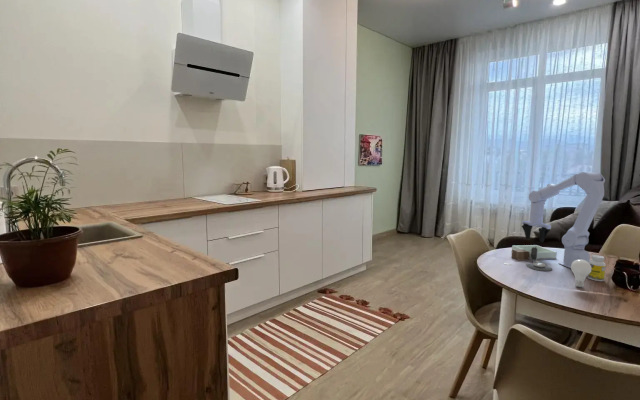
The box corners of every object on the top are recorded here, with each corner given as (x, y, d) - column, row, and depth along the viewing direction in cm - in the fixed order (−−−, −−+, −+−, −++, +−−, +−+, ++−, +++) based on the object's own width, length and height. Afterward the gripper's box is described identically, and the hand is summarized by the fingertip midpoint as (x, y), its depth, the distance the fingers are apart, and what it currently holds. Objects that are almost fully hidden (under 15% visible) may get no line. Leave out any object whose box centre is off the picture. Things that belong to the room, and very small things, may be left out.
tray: (556, 259, 172) (556, 252, 171) (530, 259, 170) (530, 252, 170) (535, 251, 185) (536, 245, 185) (511, 252, 184) (512, 245, 183)
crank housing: (548, 265, 160) (548, 264, 160) (555, 272, 151) (555, 271, 151) (501, 261, 166) (501, 260, 166) (505, 267, 157) (505, 266, 157)
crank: (547, 268, 154) (548, 254, 153) (534, 267, 155) (535, 253, 155) (538, 260, 167) (539, 247, 166) (527, 259, 168) (528, 246, 168)
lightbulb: (567, 287, 132) (570, 259, 131) (570, 283, 137) (572, 256, 136) (588, 291, 128) (591, 263, 127) (590, 287, 133) (593, 259, 132)
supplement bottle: (584, 277, 144) (586, 255, 142) (592, 276, 146) (594, 254, 145) (599, 282, 139) (601, 258, 138) (606, 280, 141) (609, 257, 140)
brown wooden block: (529, 251, 168) (518, 251, 168) (528, 260, 169) (517, 260, 168) (523, 249, 173) (512, 249, 172) (522, 257, 173) (511, 258, 173)
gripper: (556, 216, 170) (553, 242, 171) (529, 212, 183) (527, 236, 185) (546, 216, 167) (544, 243, 169) (519, 212, 181) (517, 237, 182)
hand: (534, 240), depth 177 cm, fingers open, 7 cm apart
